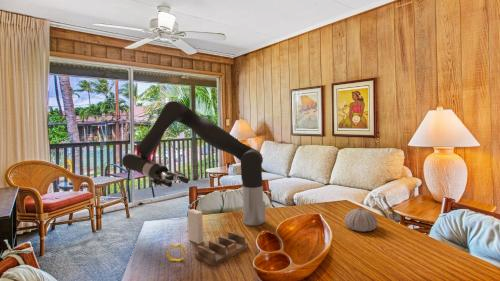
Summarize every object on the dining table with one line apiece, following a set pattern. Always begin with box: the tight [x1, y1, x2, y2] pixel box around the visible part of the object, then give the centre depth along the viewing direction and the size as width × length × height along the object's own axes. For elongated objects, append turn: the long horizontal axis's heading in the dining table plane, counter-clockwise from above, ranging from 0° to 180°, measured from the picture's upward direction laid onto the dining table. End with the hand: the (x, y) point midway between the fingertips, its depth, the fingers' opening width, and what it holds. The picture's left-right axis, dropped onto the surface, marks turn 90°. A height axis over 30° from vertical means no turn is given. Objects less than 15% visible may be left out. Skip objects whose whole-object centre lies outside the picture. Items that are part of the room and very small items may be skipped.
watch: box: [166, 241, 186, 263], centre depth 94 cm, size 6×3×6 cm, turn 89°
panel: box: [187, 208, 204, 245], centre depth 109 cm, size 6×2×12 cm, turn 50°
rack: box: [194, 231, 249, 268], centre depth 99 cm, size 10×17×4 cm, turn 140°
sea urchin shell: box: [344, 208, 378, 232], centre depth 118 cm, size 13×14×8 cm
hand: (179, 182), depth 112 cm, fingers open, 8 cm apart
